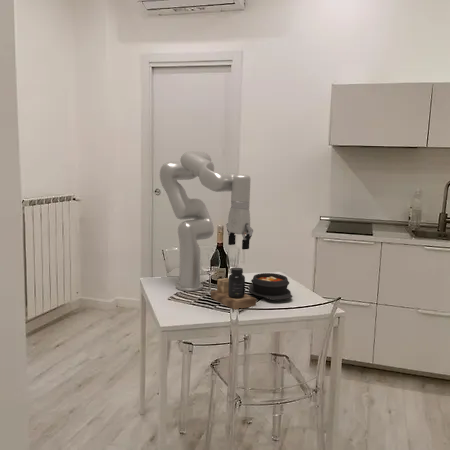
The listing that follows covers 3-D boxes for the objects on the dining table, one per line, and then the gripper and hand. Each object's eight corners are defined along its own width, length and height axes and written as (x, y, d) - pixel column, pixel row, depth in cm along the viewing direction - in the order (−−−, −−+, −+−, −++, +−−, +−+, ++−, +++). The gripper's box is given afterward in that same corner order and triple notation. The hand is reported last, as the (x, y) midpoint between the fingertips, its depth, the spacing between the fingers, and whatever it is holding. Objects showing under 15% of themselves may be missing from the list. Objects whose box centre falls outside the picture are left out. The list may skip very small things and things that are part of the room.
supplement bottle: (227, 294, 198) (228, 266, 197) (243, 294, 199) (244, 266, 197) (228, 299, 192) (229, 270, 190) (245, 299, 192) (246, 270, 190)
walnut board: (210, 297, 203) (210, 290, 203) (231, 294, 209) (231, 287, 209) (234, 309, 188) (234, 302, 188) (255, 305, 194) (256, 298, 194)
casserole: (302, 301, 202) (303, 282, 200) (263, 305, 195) (264, 286, 193) (274, 286, 224) (275, 269, 223) (239, 289, 217) (239, 271, 216)
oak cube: (217, 290, 204) (217, 279, 203) (226, 288, 206) (227, 277, 206) (223, 293, 200) (223, 282, 199) (233, 291, 202) (233, 280, 202)
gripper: (220, 203, 194) (219, 243, 197) (245, 208, 180) (243, 251, 183) (235, 202, 198) (233, 242, 201) (260, 207, 184) (258, 250, 187)
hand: (238, 246), depth 192 cm, fingers open, 9 cm apart
